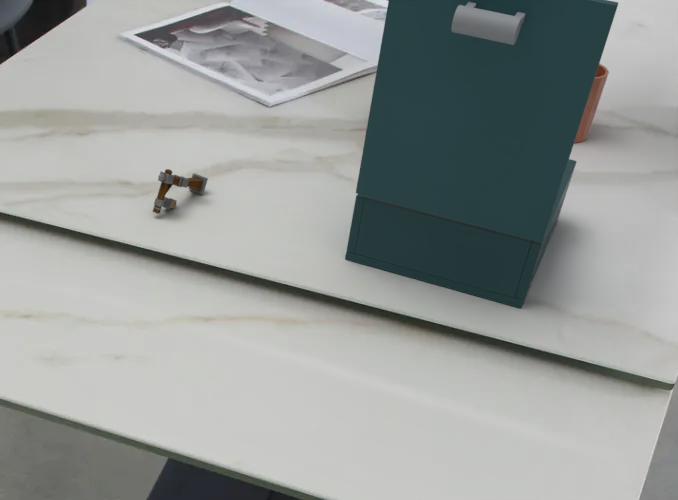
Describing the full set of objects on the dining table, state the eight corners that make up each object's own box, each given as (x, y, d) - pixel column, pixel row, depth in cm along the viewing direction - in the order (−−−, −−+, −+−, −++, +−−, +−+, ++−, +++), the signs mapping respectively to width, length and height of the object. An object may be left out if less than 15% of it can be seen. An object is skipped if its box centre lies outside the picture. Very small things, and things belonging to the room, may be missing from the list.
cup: (591, 127, 131) (612, 64, 126) (583, 147, 126) (604, 83, 121) (538, 115, 133) (556, 52, 127) (528, 134, 128) (546, 70, 123)
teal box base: (400, 180, 117) (412, 121, 112) (557, 220, 112) (576, 160, 107) (344, 259, 103) (355, 196, 98) (521, 308, 98) (541, 244, 94)
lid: (397, -41, 84) (379, -24, 81) (618, 2, 79) (609, 23, 76) (358, 189, 98) (340, 213, 95) (543, 238, 94) (532, 265, 90)
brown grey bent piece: (143, 209, 106) (155, 165, 104) (183, 212, 113) (194, 171, 111) (157, 215, 105) (169, 171, 104) (196, 217, 112) (208, 176, 111)
